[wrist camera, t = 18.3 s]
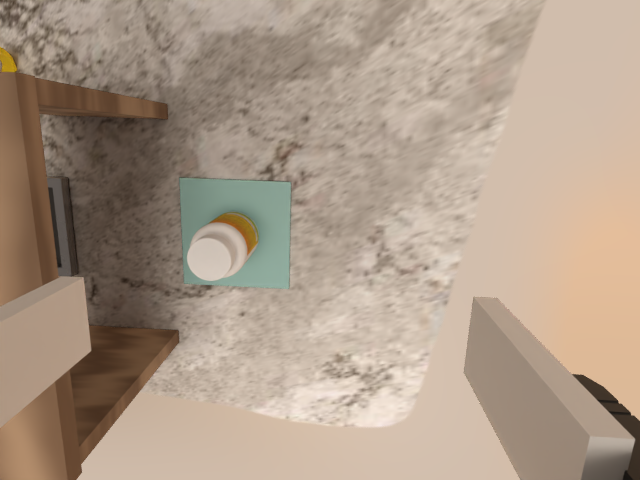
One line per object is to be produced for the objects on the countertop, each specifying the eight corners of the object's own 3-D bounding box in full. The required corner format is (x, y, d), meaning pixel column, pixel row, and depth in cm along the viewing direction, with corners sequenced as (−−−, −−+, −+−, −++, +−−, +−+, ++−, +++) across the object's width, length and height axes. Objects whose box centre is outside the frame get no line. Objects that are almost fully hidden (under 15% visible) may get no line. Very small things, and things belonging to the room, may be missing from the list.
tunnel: (171, 104, 43) (14, 72, 22) (183, 342, 50) (68, 489, 29) (49, 100, 44) (-215, 65, 23) (76, 336, 50) (-112, 476, 29)
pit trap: (67, 177, 46) (60, 178, 45) (78, 273, 48) (71, 276, 47) (-30, 173, 46) (-39, 174, 45) (-14, 268, 49) (-23, 271, 48)
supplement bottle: (221, 202, 45) (190, 219, 36) (267, 222, 46) (248, 245, 36) (204, 246, 46) (170, 274, 37) (249, 265, 47) (226, 298, 37)
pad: (291, 181, 45) (290, 182, 44) (289, 288, 47) (288, 288, 47) (180, 177, 45) (179, 177, 45) (185, 282, 48) (183, 283, 48)
